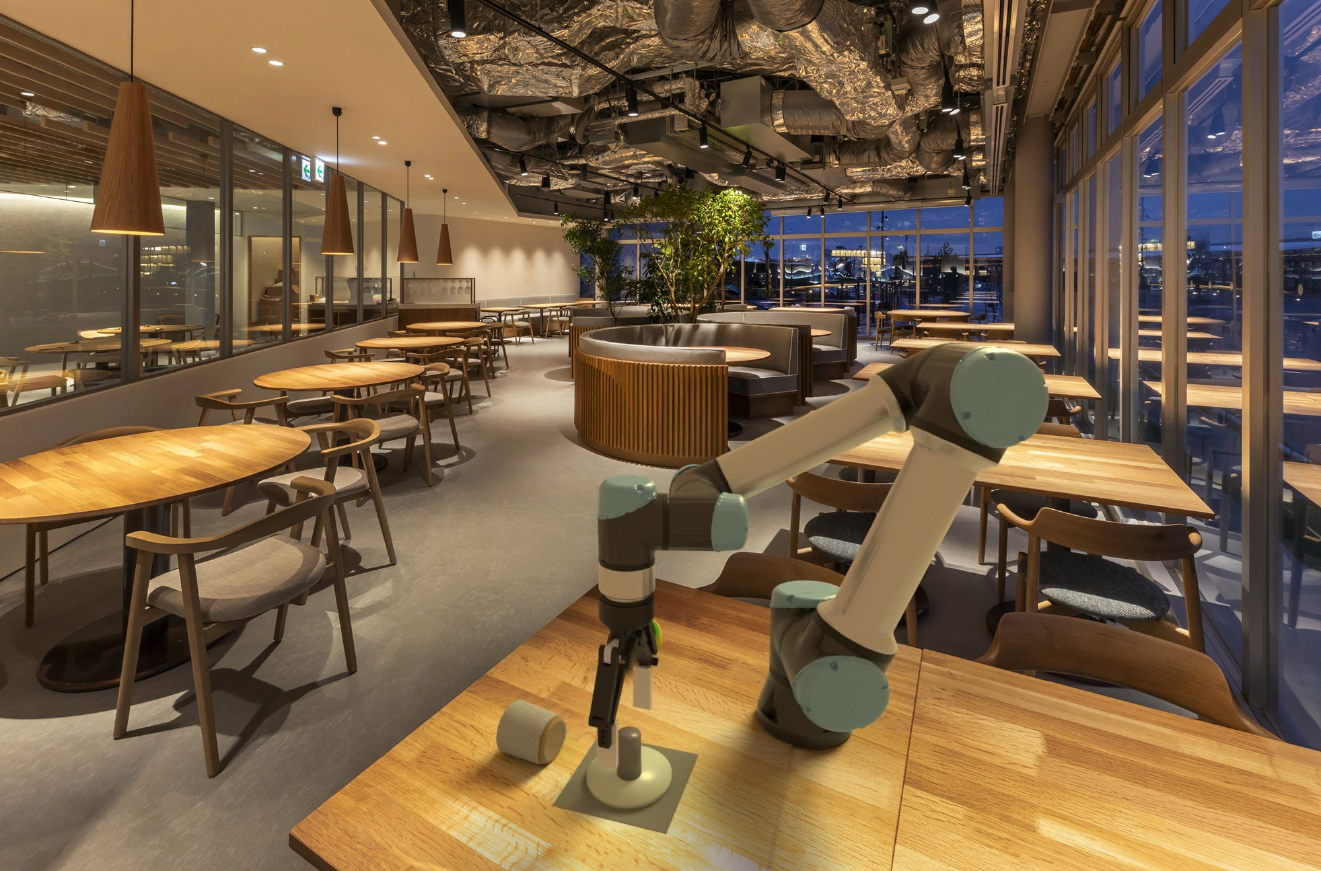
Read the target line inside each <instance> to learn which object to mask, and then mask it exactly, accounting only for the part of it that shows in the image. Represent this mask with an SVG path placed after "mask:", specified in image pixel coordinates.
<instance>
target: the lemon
mask: <svg viewBox="0 0 1321 871" xmlns="http://www.w3.org/2000/svg"><path fill="white" fill-rule="evenodd" d="M659 624H660V623H658V622H657V620H654V619H653V620H652V625H653V630H654V634H655V639H656V644H657V650H658V652H659V650H661V647H662V645H663V643H664V642H663V641H664V640H663V631H662V627H661V626H660V625H659Z"/></svg>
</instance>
